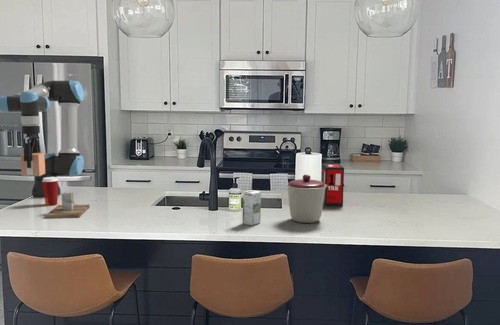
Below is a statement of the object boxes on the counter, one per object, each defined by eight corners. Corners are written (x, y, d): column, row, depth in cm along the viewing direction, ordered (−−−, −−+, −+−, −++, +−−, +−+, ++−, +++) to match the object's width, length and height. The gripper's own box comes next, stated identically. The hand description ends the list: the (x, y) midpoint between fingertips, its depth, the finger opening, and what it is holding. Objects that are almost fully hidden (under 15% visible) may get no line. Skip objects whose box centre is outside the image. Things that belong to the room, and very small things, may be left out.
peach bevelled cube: (28, 173, 221) (26, 152, 219) (45, 173, 222) (44, 152, 220) (21, 176, 213) (20, 155, 211) (39, 176, 214) (38, 154, 212)
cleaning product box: (321, 199, 252) (322, 163, 249) (337, 199, 252) (338, 163, 249) (325, 206, 235) (326, 167, 233) (342, 206, 235) (344, 167, 233)
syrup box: (250, 221, 206) (250, 189, 204) (260, 223, 202) (261, 191, 200) (242, 223, 202) (242, 191, 200) (252, 226, 198) (252, 193, 196)
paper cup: (62, 203, 240) (60, 176, 238) (54, 206, 233) (53, 179, 231) (48, 202, 241) (46, 176, 239) (40, 206, 233) (38, 179, 231)
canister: (284, 225, 200) (285, 177, 197) (286, 214, 218) (287, 170, 215) (326, 226, 198) (327, 178, 195) (325, 216, 215) (326, 171, 212)
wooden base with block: (58, 207, 229) (57, 189, 228) (89, 207, 231) (88, 188, 230) (45, 218, 210) (44, 197, 208) (79, 217, 211) (78, 197, 210)
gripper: (30, 124, 224) (33, 170, 227) (13, 126, 203) (16, 177, 206) (46, 123, 225) (49, 169, 228) (30, 126, 204) (34, 176, 207)
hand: (33, 173), depth 217 cm, fingers closed on peach bevelled cube, 8 cm apart
